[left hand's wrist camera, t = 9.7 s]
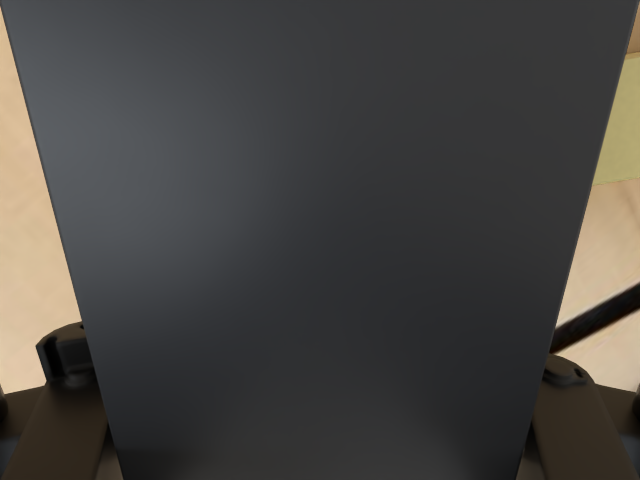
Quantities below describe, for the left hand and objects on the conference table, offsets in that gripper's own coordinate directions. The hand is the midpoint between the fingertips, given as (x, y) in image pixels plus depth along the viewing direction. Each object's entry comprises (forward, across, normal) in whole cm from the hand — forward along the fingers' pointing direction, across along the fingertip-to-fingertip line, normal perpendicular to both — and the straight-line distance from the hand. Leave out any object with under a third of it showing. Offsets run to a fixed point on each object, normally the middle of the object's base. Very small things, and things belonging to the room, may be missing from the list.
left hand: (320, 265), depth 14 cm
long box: (0, 0, -9) cm, 9 cm away
